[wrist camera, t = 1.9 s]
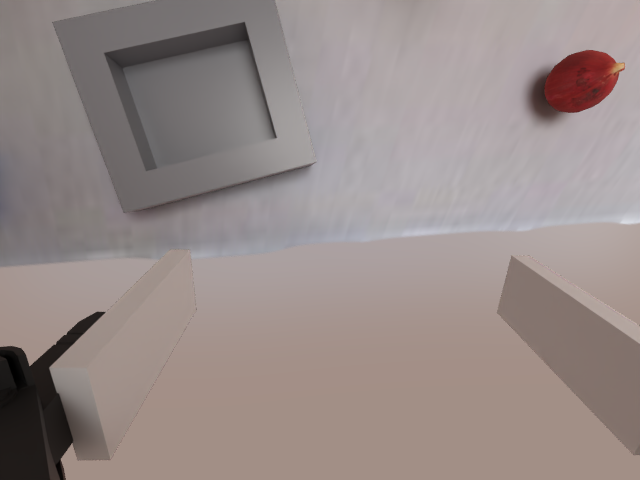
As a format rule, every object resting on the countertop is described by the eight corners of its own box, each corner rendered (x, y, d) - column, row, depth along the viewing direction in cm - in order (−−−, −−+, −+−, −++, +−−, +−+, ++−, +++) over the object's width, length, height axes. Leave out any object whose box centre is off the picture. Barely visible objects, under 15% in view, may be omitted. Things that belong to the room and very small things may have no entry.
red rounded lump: (555, 128, 39) (625, 113, 31) (518, 101, 38) (581, 79, 30) (581, 83, 39) (659, 56, 31) (544, 55, 38) (615, 20, 30)
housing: (83, 45, 31) (52, 21, 27) (269, 5, 33) (268, -23, 29) (142, 209, 34) (123, 213, 30) (311, 165, 36) (316, 161, 32)
